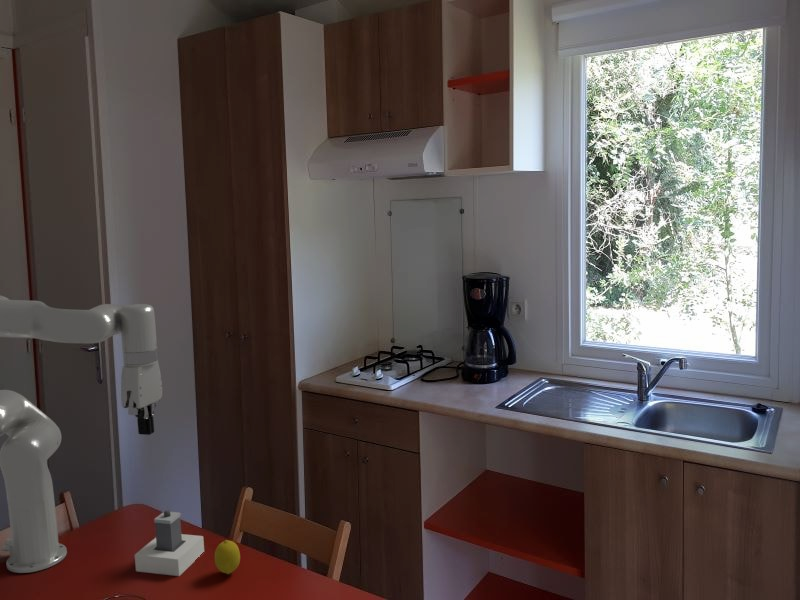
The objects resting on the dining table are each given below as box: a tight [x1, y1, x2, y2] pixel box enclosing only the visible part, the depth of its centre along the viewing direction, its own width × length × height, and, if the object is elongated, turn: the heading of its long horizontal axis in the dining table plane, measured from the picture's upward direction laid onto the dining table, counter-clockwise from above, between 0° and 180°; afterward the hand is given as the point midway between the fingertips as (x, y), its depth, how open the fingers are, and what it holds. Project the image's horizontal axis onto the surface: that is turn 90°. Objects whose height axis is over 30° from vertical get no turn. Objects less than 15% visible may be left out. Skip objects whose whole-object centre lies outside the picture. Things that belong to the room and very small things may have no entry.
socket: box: [134, 533, 205, 577], centre depth 159 cm, size 11×11×4 cm
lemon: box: [214, 539, 241, 575], centre depth 153 cm, size 6×6×8 cm
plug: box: [153, 510, 182, 552], centre depth 158 cm, size 4×4×11 cm
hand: (146, 433), depth 161 cm, fingers closed
